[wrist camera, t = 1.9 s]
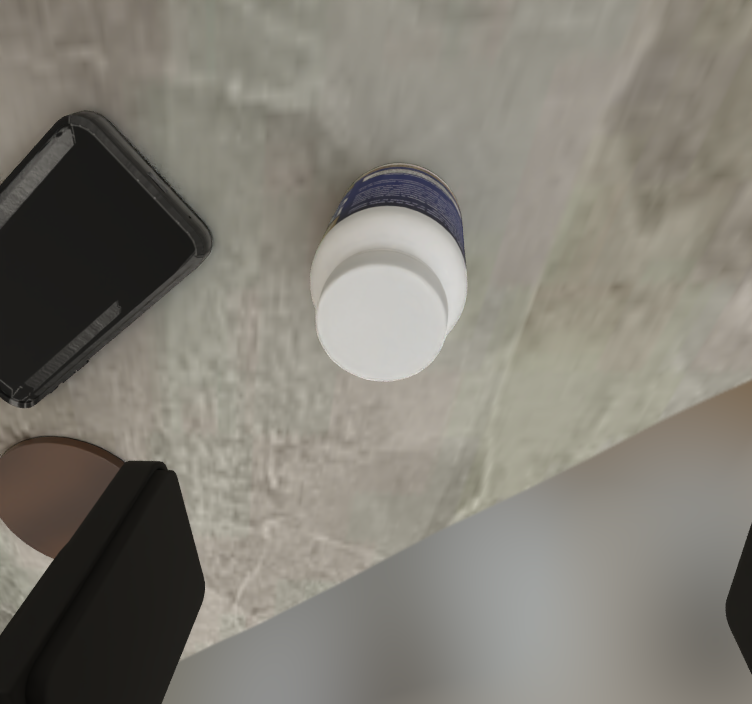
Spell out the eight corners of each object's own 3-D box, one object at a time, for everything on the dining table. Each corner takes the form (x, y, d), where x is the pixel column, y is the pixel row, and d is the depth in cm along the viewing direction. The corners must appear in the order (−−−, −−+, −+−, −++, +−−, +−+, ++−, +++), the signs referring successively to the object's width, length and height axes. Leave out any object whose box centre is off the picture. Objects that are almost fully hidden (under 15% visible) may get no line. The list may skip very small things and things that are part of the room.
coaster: (-32, 499, 38) (-38, 506, 37) (41, 405, 33) (34, 411, 33) (108, 583, 40) (103, 591, 40) (190, 506, 36) (187, 513, 36)
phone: (-109, 308, 30) (73, 102, 24) (-92, 298, 31) (87, 98, 25) (24, 416, 32) (216, 254, 27) (36, 404, 33) (224, 245, 28)
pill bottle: (332, 162, 26) (279, 240, 17) (462, 157, 25) (474, 236, 17) (342, 282, 28) (301, 401, 20) (460, 280, 28) (470, 402, 19)
